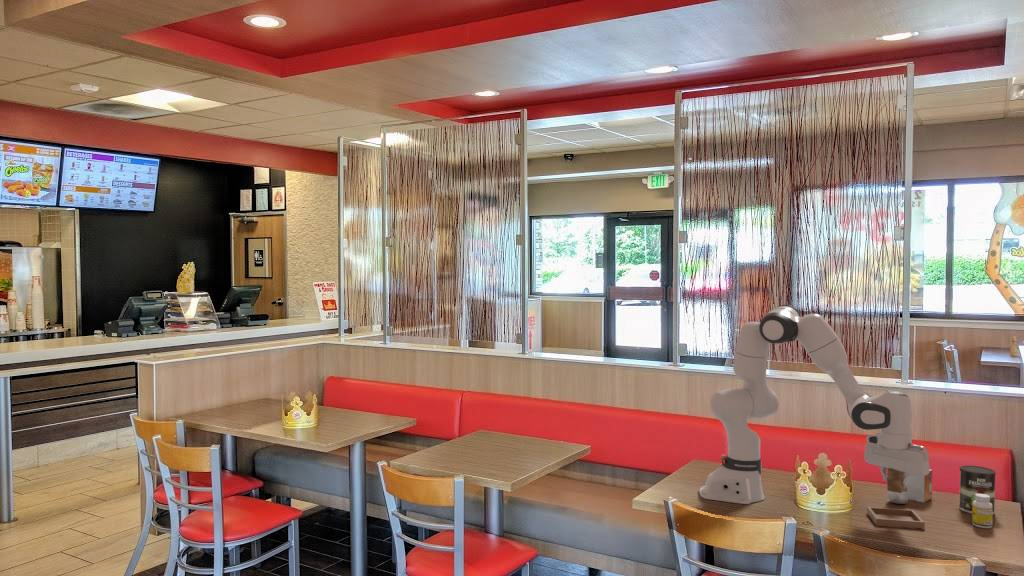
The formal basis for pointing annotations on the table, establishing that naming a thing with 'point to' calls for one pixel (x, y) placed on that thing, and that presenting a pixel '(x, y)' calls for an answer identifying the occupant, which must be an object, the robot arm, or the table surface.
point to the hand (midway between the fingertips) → (895, 483)
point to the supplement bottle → (982, 511)
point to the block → (895, 481)
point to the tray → (895, 517)
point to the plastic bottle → (898, 496)
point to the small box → (920, 488)
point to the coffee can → (975, 486)
